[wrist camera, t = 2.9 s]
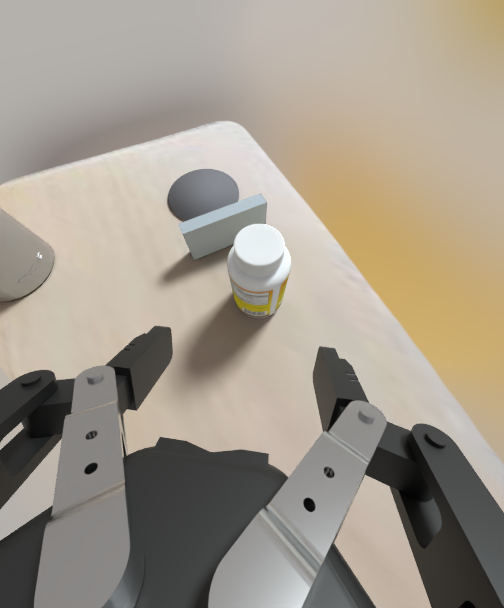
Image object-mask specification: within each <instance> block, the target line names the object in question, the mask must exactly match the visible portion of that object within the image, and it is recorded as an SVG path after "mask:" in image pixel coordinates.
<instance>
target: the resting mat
mask: <svg viewBox="0 0 504 608" xmlns="http://www.w3.org/2000/svg"><path fill="white" fill-rule="evenodd" d="M238 198H239V191H238V186H237V184H236V182H235V181H234V180H233V179H232V178H231V177H230V176H229V175H227V174H226V173H224V172H221V171H218V170H213V169H200V170H195V171H192V172H189V173H187V174H185V175H183V176H181V177H180V178H179V179H177V180H176V181H175V182H174V184H173V185H172V187H171V188H170V191H169V195H168V201H169V205H170V207H171V209H172V211H173V212H174V213H175V214H176V215H177V216H178V217H180V218H181V219H183V220H185V221H187V220H190V219H193V218H196V217H198V216H201V215H204V214H206V213H209V212H212V211H214V210H217V209H220V208H223V207H225V206H228V205H231V204H233V203H236V202H238Z"/></svg>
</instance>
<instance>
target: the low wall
mask: <svg viewBox="0 0 504 608" xmlns="http://www.w3.org/2000/svg"><path fill="white" fill-rule="evenodd" d="M266 210H267V201H266V200H265V198H264V197H263V195H262V194H261V193H260V194H258V195H255V196H252V197H250V198H247V199H244V200H242V201H239V202H236V203H233V204H231V205H228V206H225V207H223V208H220V209H217V210H214V211H212V212H209V213H206V214H204V215H201V216H198V217H196V218H193V219H190V220H187V221H185V222H182V223H179V224H178V225H179V227H180V230H181V232H182V234H183V236H184V239H185V241H186V243H187V245H188V247H189V250H190V252H191V254H192V256H193V259H194V260H196V259H198V258H201V257H203V256H206V255H208V254H211V253H213V252H216V251H218V250H221V249H223V248H226V247H228V246H231V245H233V244H234V240H235V237H236V235H237V234H238V233H239V232H240V231H241V230H242V229H243V228H245V227H247V226H249V225H253V224H266Z"/></svg>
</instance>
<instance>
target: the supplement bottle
mask: <svg viewBox="0 0 504 608" xmlns="http://www.w3.org/2000/svg"><path fill="white" fill-rule="evenodd" d="M227 268H228V273H229V277H230V281H231V286H232V290H233V294H234V299H235V302H236V305H237V307H238V308H239V309H240V311H241V312H243V313H244V314H245V315H247V316H249V317H253V318H264V317H268V316H270V315H272V314H273V313H275V312H276V311H277V310H278V308H279V307H280V305H281V302H282V299H283V295H284V291H285V288H286V284H287V280H288V276H289V272H290V268H291V258H290V254H289V252H288V250H287V248H286V247H285V242H284V239H283V236H282V235H281V233H280V232H279V231H278V230H277V229H275V228H274V227H272V226H269V225H266V224H253V225H249V226H247V227H245V228H243V229H242V230H241V231H240V232H239V233H238V234H237V235H236V237H235V240H234V246H233V247H232V248H231V250H230V252H229V254H228V258H227Z"/></svg>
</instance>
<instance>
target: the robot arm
mask: <svg viewBox="0 0 504 608" xmlns="http://www.w3.org/2000/svg"><path fill="white" fill-rule="evenodd" d="M53 264H54V253H53V250H52V248H51V246H50V245H49V244H48V243H47V242H45V241H44V240H43V239H41V238H40V237H39V236H37V235H36V234H35V233H33V232H32V231H31V230H29V229H28V228H27V227H25V226H24V225H23V224H21V223H20V222H19V221H17V220H16V219H15V218H13V217H12V216H11V215H9V214H8V213H7V212H5V211H4V210H3V209H1V208H0V302H5V301H11V300H15V299H18V298H21V297H23V296H25V295H27V294H29V293H30V292H32V291H33V290H35V289H36V288H37V287H38V286H39V285H41V284H42V283H43V281H44V280H45V279H46V278H47V276H48V275H49V273H50V271H51V269H52V267H53ZM172 353H173V350H172V335H171V329H170V328H169V327H162V326H154V327H153V328H152V329H151V330H150V331H149V332H148V333H147V334H145V333H144V334H142V335H140V336H138V337H136V338H135V339H133V340H132V341H131V342H130V343H129V345H127V346H126V347H125V348H124V349H123V350H121V351H120V352H119V353H118V354H117V355H116V356H115V357H114V358H113V359H112V360H111V361H110V362H108V363H107V364H106V365H105V366H96V367H92V368H90V369H87V370H85V371H83V372H82V373H80V374H79V375H78V376H77V377H76V379H65V380H56V378H55V375H54V373H53V372H52V371H49V370H39V371H34V372H30V373H27V374H24V375H22V376H20V377H18V378H16V379H15V380H13V381H12V382H11V383H9V384H8V385H7V386H5V387H4V388H2V389H1V390H0V442H1V440H2V439H3V438H4V437H5V436H6V435H7V434H8V433H9V432H10V431H12V430H13V429H14V428H15V427H16V426H17V425H18V424H19V423H20V422H22V425H23V427H24V429H23V430H21V431H20V432H19V433H18V434H17V435H16V436H15V437H14V438H13V439H12V440H11V441H10V442H9V443H8V444H6V445H5V446H4V447H3V448H2V449H1V450H0V509H1V508H2V506H4V504H5V503H6V502H7V501H8V500H9V499H10V497H11V496H12V495H13V494H14V493H15V492H16V491H17V489H18V488H19V487H20V486H21V485H22V484H23V482H24V481H25V480H26V479H27V478H28V477H29V475H30V474H31V473H32V472H33V471H34V470H35V468H36V467H37V466H38V465H39V464H40V463H41V461H42V460H43V459H44V458H45V457H46V456H47V455H48V453H49V452H50V451H51V450H52V449H53V448H54V446H55V445H56V444H57V443H58V442H59V441H60V439H61V438H62V442H61V450H60V457H59V464H58V472H57V479H56V487H55V494H54V501H53V506H51V507H50V508H48V509H47V510H45V511H44V512H42V513H41V514H39V515H38V516H36V517H35V518H33V519H32V520H30V521H29V522H27V523H26V524H25V525H23V526H21V527H20V528H18V529H17V530H15V531H14V532H13V533H11V534H10V535H8V536H7V537H5V538H4V539H2V540H1V541H0V608H376V607H375V605H374V604H373V602H372V601H371V599H370V598H369V596H368V594H367V593H366V591H365V590H364V588H363V587H362V585H361V584H360V582H359V581H358V579H357V578H356V576H355V575H354V573H353V572H352V570H351V568H350V567H349V565H348V564H347V562H346V561H345V559H344V558H343V556H342V555H341V553H340V552H339V550H338V549H337V547H336V546H335V544H334V542H335V540H336V538H337V535H338V533H339V531H340V529H341V526H342V524H343V522H344V520H345V517H346V515H347V513H348V511H349V509H350V506H351V504H352V502H353V500H354V498H355V496H356V493H357V491H358V489H359V487H360V485H361V482H362V480H363V478H364V476H365V475H367V476H369V477H371V478H374V479H376V480H378V481H380V482H382V483H384V484H386V485H388V486H390V489H391V492H392V495H393V498H394V501H395V503H396V506H397V509H398V512H399V515H400V518H401V521H402V524H403V526H404V529H405V532H406V535H407V538H408V541H409V544H410V547H411V550H412V552H413V555H414V558H415V561H416V564H417V567H418V570H419V573H420V575H421V578H422V581H423V584H424V587H425V590H426V593H427V596H428V598H429V601H430V604H431V607H432V608H504V513H503V511H502V510H501V508H500V507H499V505H498V504H497V502H496V501H495V500H494V498H493V497H492V495H491V494H490V492H489V491H488V489H487V488H486V487H485V485H484V484H483V482H482V481H481V479H480V478H479V476H478V475H477V473H476V472H475V471H474V469H473V468H472V466H471V465H470V463H469V462H468V460H467V459H466V458H465V456H464V455H463V453H462V452H461V450H460V449H459V447H458V446H457V445H456V443H455V442H454V441H453V440H452V439H451V438H450V437H449V436H448V435H446V434H445V433H444V432H442V431H441V430H439V429H437V428H435V427H433V426H430V425H427V424H416V425H414V426H413V428H412V430H411V431H410V430H407V429H404V428H402V427H399V426H397V425H394V424H392V423H389V422H388V421H386V418H385V416H384V414H383V413H382V412H381V411H380V410H379V409H378V408H377V407H375V406H374V405H372V404H370V403H369V402H368V400H367V397H366V395H365V393H364V391H363V389H362V387H361V385H360V382H359V381H358V378H357V376H356V375H355V372H354V370H353V367H352V366H351V365H350V364H349V363H348V362H347V361H346V360H345V359H339V357H338V354H337V352H336V349H335V348H329V347H319V349H318V353H317V358H316V362H315V366H314V371H313V384H314V389H315V394H316V399H317V404H318V409H319V414H320V419H321V424H322V428H323V433H322V434H321V435H320V437H319V438H318V439H317V441H316V442H315V443H314V445H313V446H312V447H311V449H310V450H309V451H308V453H307V454H306V455H305V457H304V458H303V459H302V461H301V462H300V463H299V465H298V466H297V467H296V469H295V470H294V471H293V473H292V474H291V475H290V477H287V476H286V475H285V474H284V473H283V472H282V471H280V470H279V469H277V468H276V467H274V466H272V465H270V464H268V455H269V454H266V453H260V452H254V451H247V450H233V451H223V452H209V451H207V450H205V449H202V448H200V447H198V446H196V445H194V444H191V443H189V442H187V441H182V440H176V439H169V438H163V437H160V438H159V440H158V442H157V444H156V446H155V447H149V448H144V449H141V450H138V451H136V452H134V453H131V454H129V455H128V449H127V441H126V433H125V425H124V417H123V414H124V412H125V411H126V409H130V410H136V411H137V409H138V408H139V407H140V405H141V404H142V402H143V401H144V399H145V398H146V396H147V395H148V393H149V392H150V391H151V389H152V388H153V386H154V385H155V383H156V382H157V380H158V379H159V378H160V376H161V375H162V373H163V372H164V370H165V369H166V367H167V366H168V365H169V363H170V361H171V359H172Z"/></svg>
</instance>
